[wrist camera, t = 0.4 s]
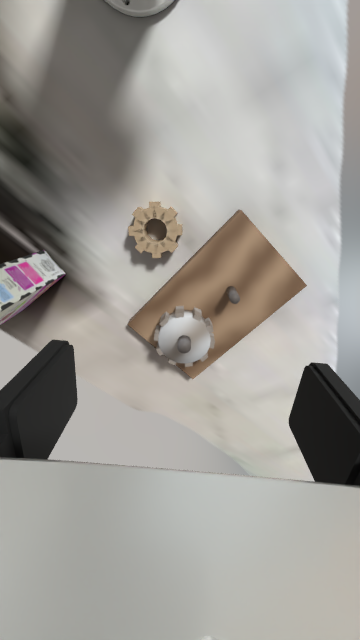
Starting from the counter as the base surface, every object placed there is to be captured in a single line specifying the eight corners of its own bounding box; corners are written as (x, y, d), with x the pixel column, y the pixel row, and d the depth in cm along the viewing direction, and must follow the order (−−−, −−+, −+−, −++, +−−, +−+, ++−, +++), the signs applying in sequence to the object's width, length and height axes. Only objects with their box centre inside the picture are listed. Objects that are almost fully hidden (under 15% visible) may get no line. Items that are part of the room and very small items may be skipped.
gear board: (129, 319, 46) (120, 338, 39) (238, 209, 39) (248, 211, 32) (192, 372, 50) (193, 398, 43) (301, 281, 43) (322, 296, 36)
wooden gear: (122, 229, 40) (117, 231, 37) (155, 189, 38) (153, 189, 35) (158, 264, 42) (156, 268, 39) (192, 228, 40) (193, 230, 37)
